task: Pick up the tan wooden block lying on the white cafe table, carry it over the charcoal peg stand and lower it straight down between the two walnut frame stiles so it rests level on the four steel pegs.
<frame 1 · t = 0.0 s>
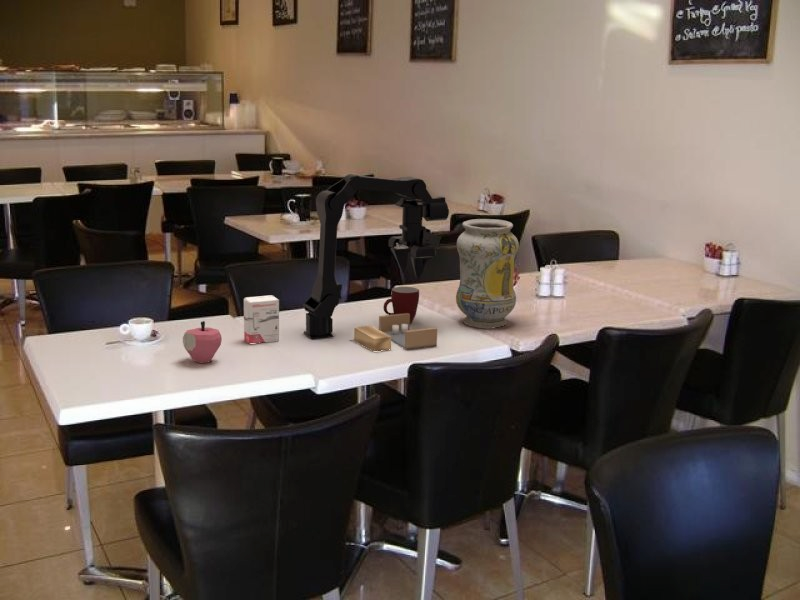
hand: (410, 276, 258), 15 cm above the table, fingers open, 9 cm apart
apple: (203, 362, 224), on the table
vase: (484, 323, 266), on the table
mug: (400, 323, 263), on the table
peg stand: (407, 339, 247), on the table
ink box: (261, 341, 243), on the table
tan wooden block: (372, 346, 241), on the table
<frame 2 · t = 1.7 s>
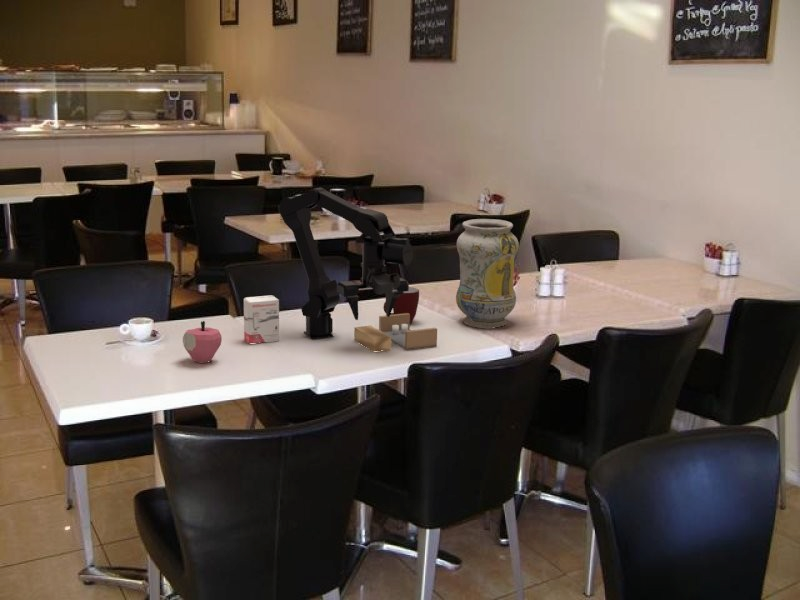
hand: (372, 318, 239), 7 cm above the table, fingers open, 9 cm apart
nothing on the table moved.
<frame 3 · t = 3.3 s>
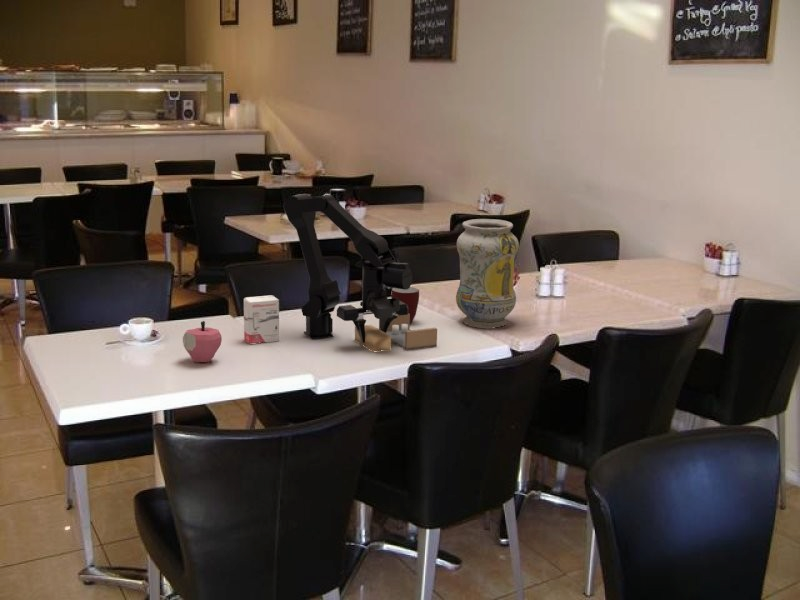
hand: (372, 341, 241), 1 cm above the table, fingers closed on tan wooden block, 5 cm apart
tan wooden block: (372, 345, 241), on the table, touching gripper
everything else where it was.
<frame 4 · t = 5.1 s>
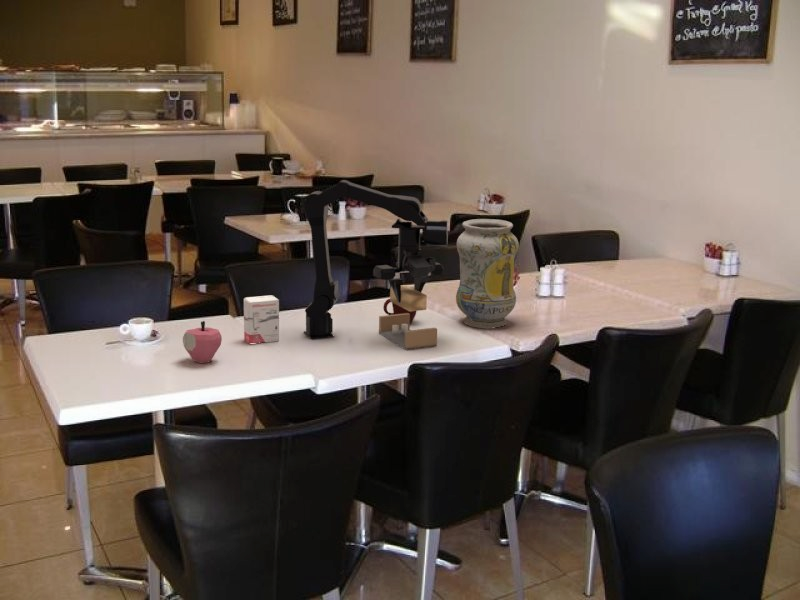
hand: (407, 301, 244), 11 cm above the table, fingers closed on tan wooden block, 5 cm apart
tan wooden block: (407, 305, 244), point 10 cm above the table, touching gripper
everything else where it was.
when the fingers open (5 cm above the table, at t = 6.8 s): tan wooden block drops 1 cm, resting on peg stand.
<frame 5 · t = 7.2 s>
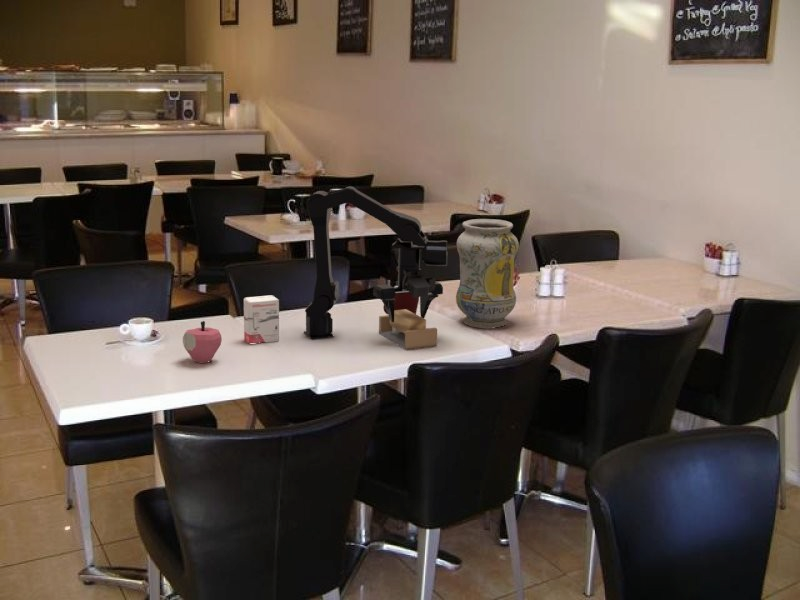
hand: (407, 320, 246), 5 cm above the table, fingers open, 9 cm apart
tan wooden block: (407, 329, 246), point 3 cm above the table, touching peg stand
everything else where it was.
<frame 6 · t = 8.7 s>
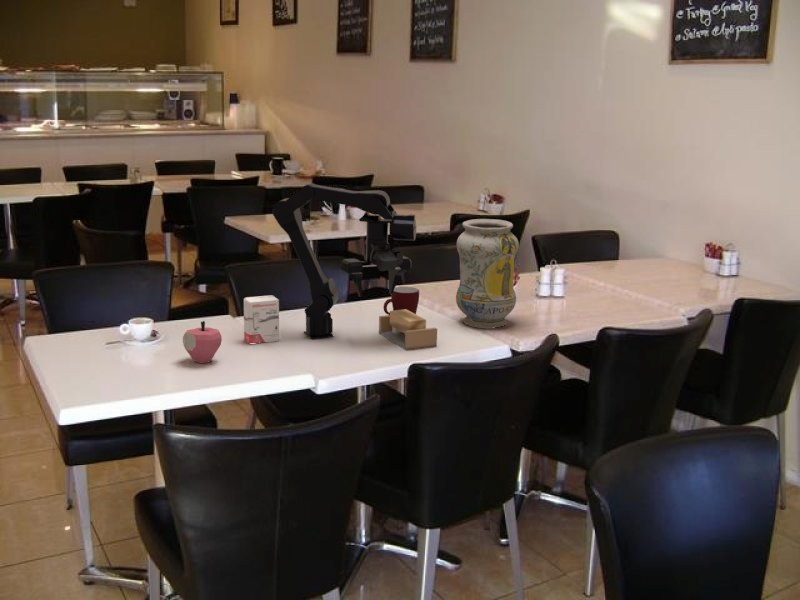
hand: (375, 295, 244), 12 cm above the table, fingers open, 9 cm apart
nothing on the table moved.
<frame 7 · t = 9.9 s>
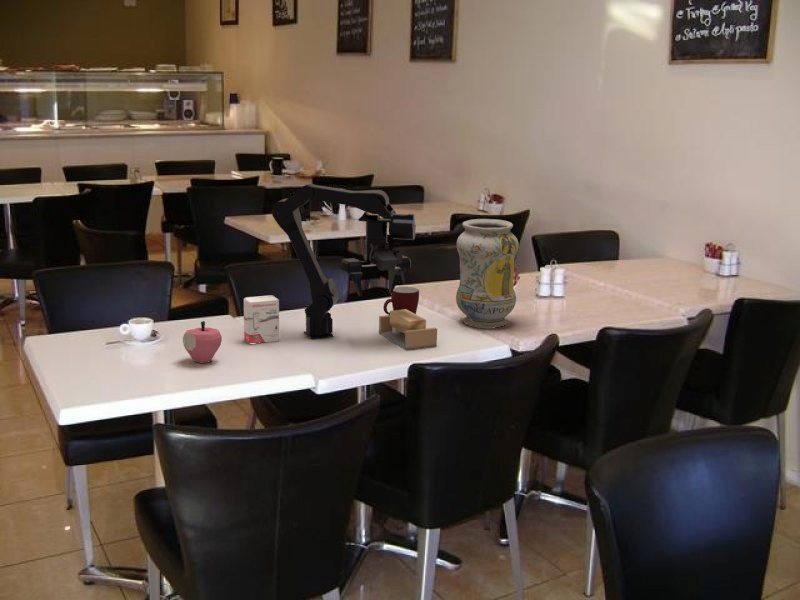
hand: (375, 294, 244), 13 cm above the table, fingers open, 9 cm apart
nothing on the table moved.
at the end: tan wooden block 0.1 cm off-centre on the peg stand, point 3.0 cm above the peg stand's base; tan wooden block tilted 0°; the gripper is holding nothing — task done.
